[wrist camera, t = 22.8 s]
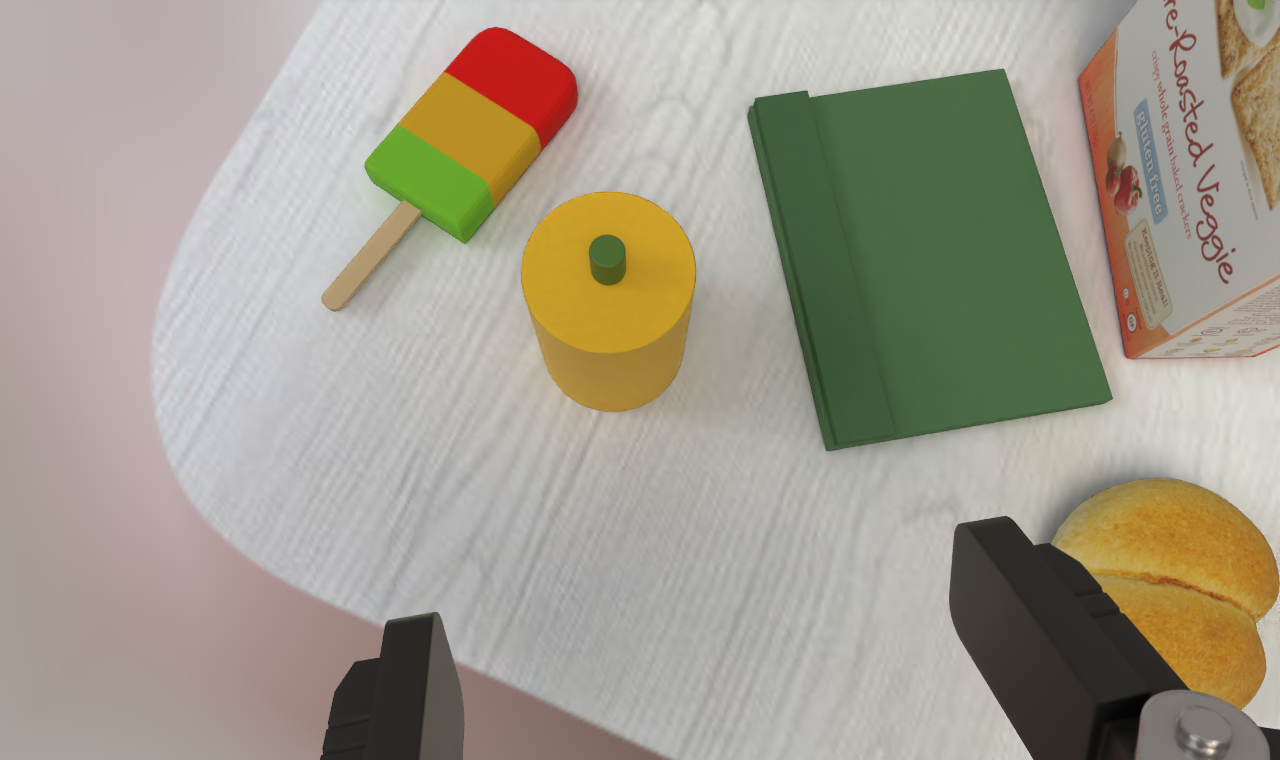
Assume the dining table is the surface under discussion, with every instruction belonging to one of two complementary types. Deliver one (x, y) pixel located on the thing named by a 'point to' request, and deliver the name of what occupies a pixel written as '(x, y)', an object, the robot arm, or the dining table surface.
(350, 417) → the dining table surface
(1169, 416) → the dining table surface
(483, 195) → the popsicle
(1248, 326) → the cracker box
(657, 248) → the yellow cylinder with peg
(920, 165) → the green notebook
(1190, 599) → the bread roll
